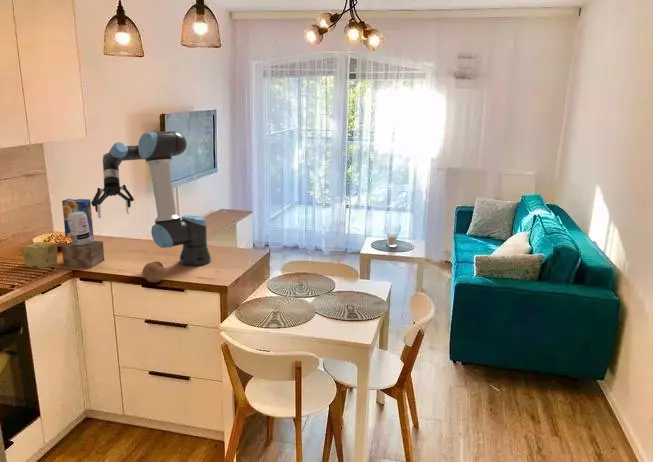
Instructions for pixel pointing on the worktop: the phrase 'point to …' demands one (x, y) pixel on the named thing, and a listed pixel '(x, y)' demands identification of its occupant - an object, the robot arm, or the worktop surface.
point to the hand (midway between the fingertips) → (113, 214)
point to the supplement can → (79, 228)
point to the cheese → (40, 254)
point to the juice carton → (76, 206)
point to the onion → (153, 272)
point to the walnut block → (83, 254)
